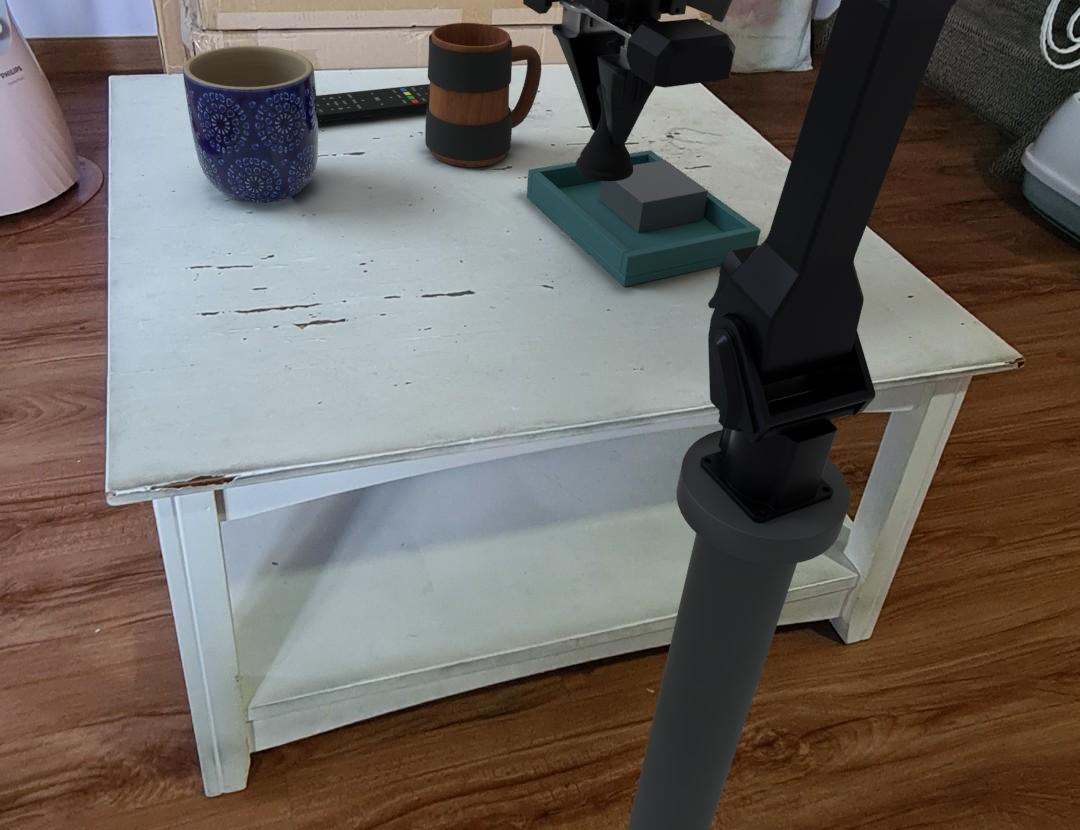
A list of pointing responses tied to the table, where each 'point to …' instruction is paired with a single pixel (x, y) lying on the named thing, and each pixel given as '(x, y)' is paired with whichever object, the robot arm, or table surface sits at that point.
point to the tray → (623, 247)
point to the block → (655, 197)
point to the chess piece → (605, 146)
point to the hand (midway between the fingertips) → (608, 136)
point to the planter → (253, 120)
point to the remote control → (372, 102)
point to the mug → (475, 93)
